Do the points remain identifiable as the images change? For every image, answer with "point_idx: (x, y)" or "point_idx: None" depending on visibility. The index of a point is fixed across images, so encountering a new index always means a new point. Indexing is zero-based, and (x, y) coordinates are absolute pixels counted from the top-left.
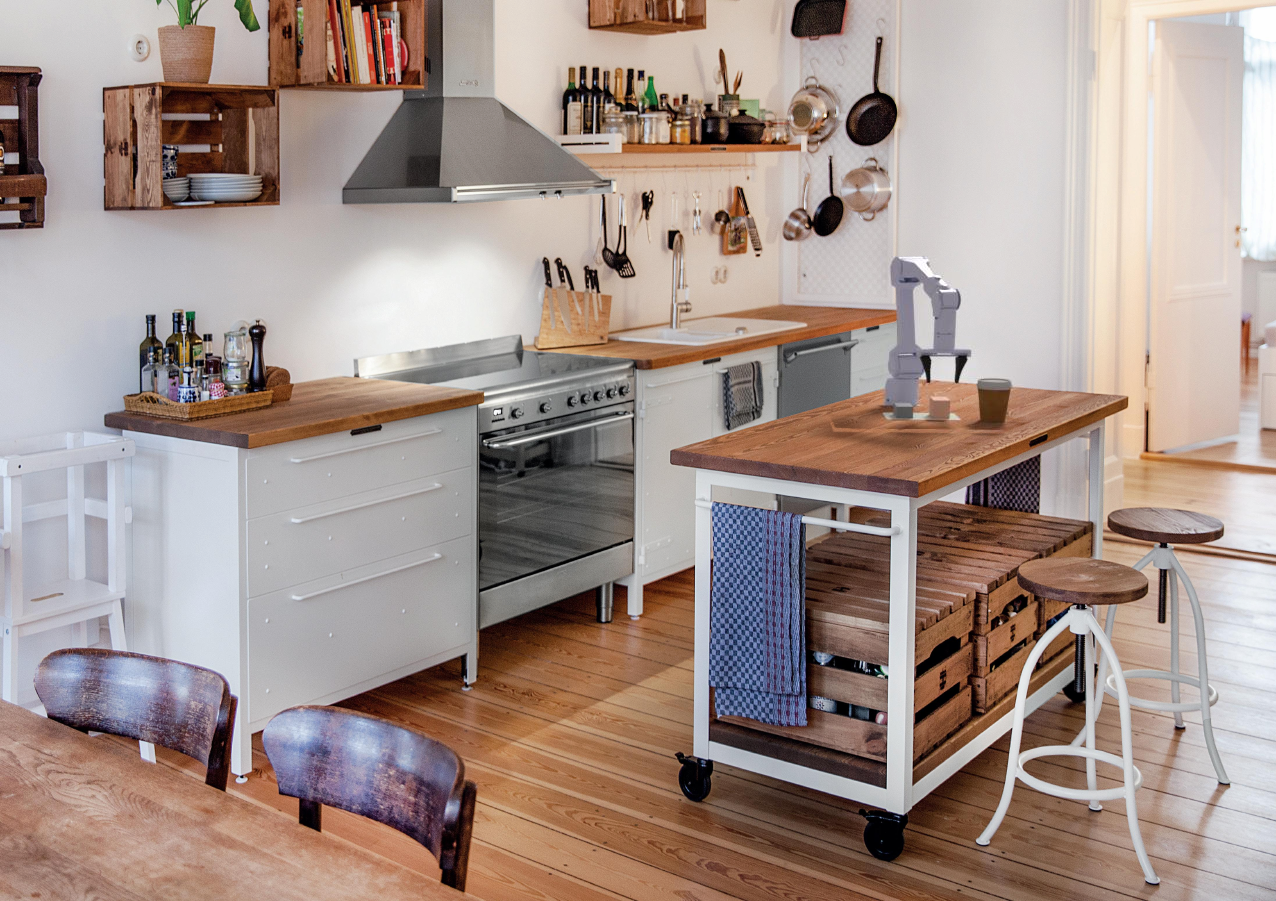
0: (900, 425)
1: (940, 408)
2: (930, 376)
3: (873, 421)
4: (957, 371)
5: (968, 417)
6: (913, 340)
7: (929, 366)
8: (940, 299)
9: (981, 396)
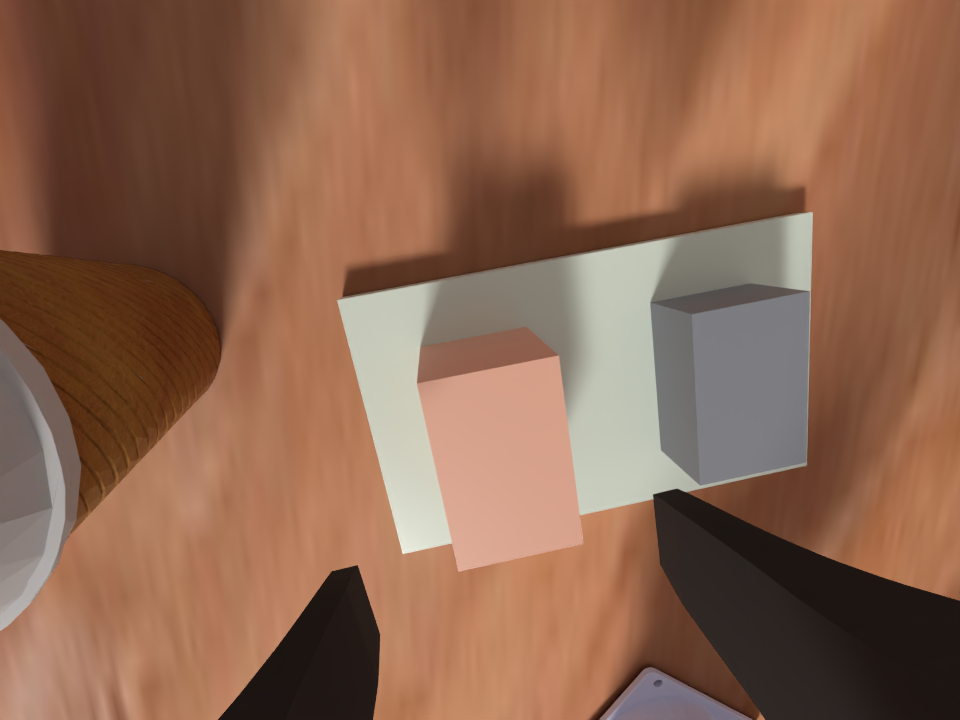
0: (722, 136)
1: (489, 349)
2: (701, 529)
3: (861, 258)
4: (306, 699)
5: (320, 544)
6: None
7: (861, 614)
8: None
9: (64, 311)
